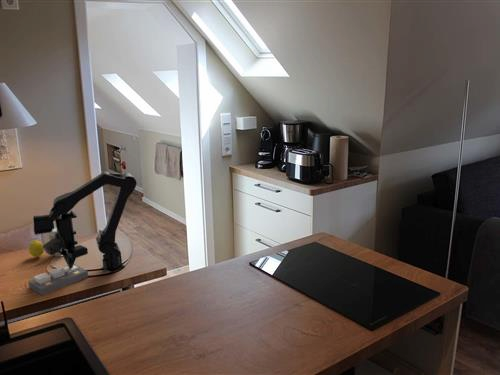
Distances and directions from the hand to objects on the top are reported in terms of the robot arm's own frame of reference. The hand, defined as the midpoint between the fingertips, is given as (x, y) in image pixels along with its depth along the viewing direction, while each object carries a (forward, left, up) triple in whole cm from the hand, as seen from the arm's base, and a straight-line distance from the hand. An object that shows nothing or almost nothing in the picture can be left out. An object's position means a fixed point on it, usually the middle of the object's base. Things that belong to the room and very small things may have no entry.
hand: (70, 267), depth 168 cm
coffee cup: (-8, -23, -4) cm, 25 cm away
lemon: (0, -28, -4) cm, 28 cm away
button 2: (0, 0, -2) cm, 2 cm away
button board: (+6, +1, -3) cm, 7 cm away
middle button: (+6, 0, -1) cm, 6 cm away
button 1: (+11, 0, -1) cm, 11 cm away
